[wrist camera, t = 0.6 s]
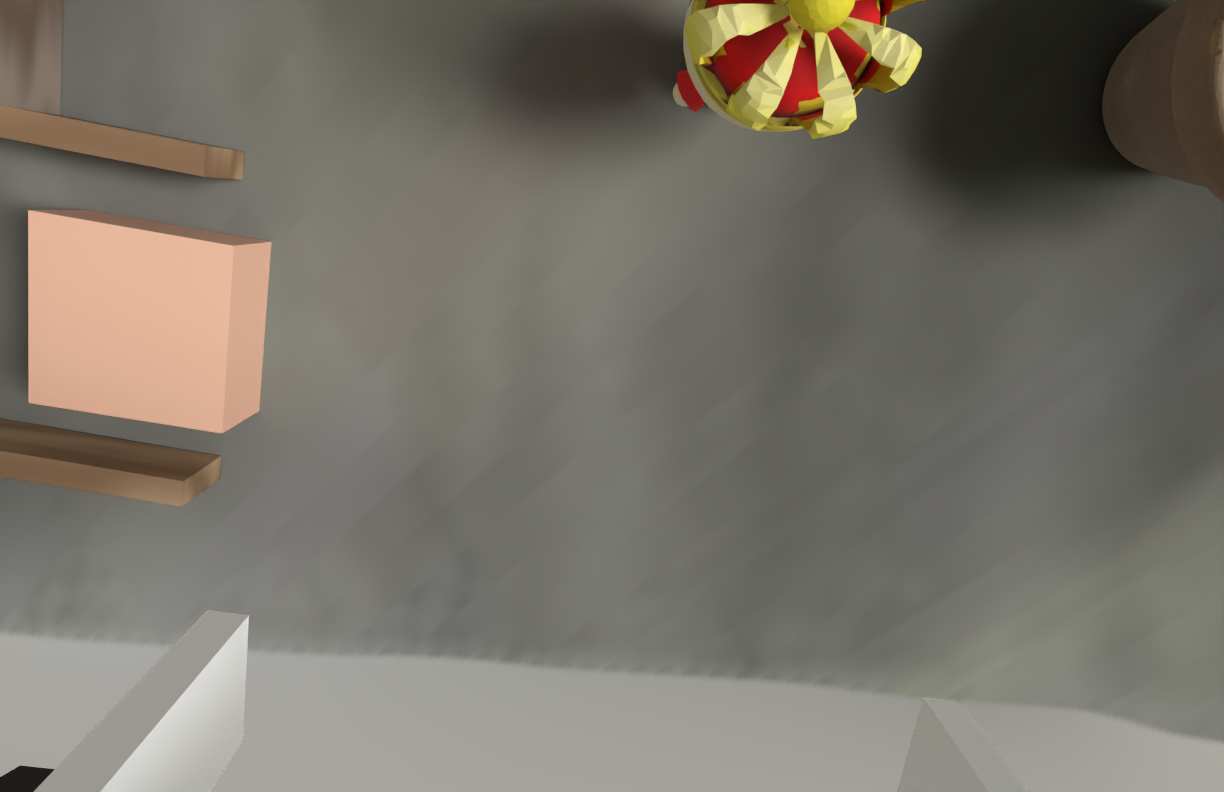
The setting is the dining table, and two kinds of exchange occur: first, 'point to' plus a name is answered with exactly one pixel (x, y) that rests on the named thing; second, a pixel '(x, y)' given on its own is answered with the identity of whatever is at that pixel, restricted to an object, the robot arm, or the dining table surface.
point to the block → (145, 319)
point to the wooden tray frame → (30, 112)
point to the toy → (791, 60)
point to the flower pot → (1172, 95)
